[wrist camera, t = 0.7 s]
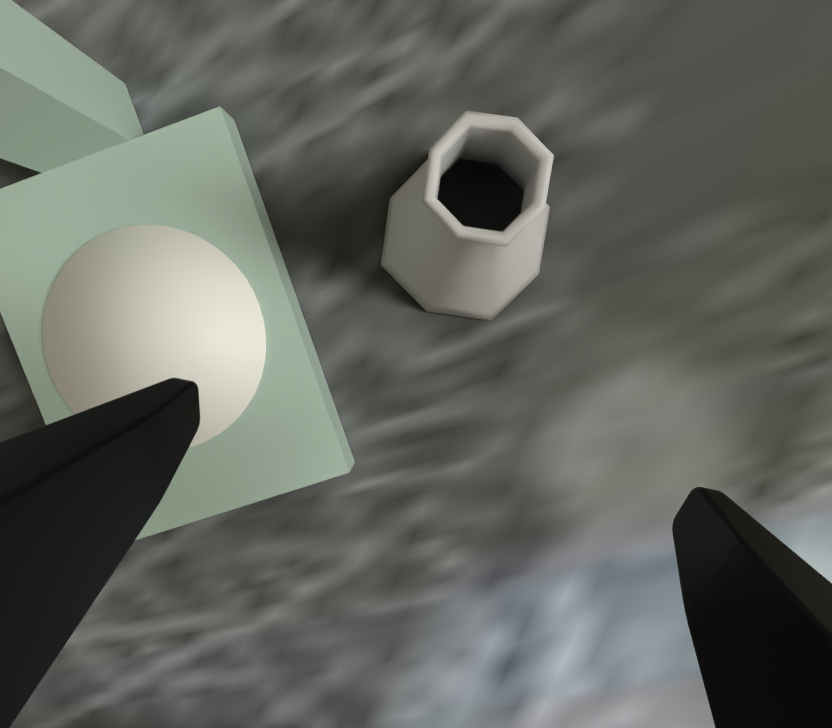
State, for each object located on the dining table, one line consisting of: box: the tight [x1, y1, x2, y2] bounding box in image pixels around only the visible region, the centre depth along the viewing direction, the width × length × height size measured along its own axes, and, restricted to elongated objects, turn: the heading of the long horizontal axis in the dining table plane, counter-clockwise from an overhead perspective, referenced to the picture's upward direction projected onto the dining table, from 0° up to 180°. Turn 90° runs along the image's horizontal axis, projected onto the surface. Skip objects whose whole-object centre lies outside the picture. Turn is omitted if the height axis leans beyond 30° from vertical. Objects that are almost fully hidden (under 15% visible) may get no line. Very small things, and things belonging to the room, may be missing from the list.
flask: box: [381, 111, 554, 321], centre depth 18 cm, size 7×7×10 cm
